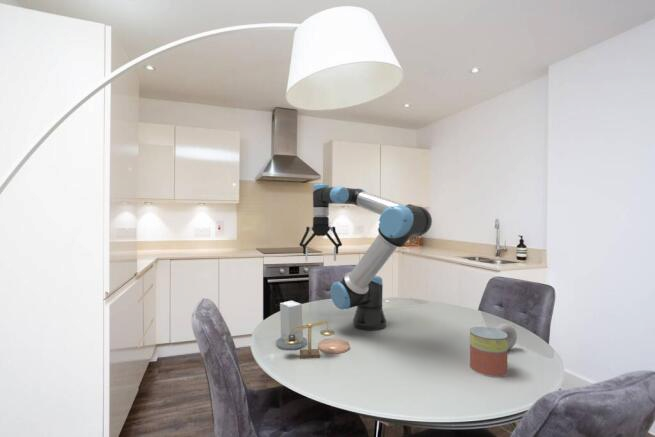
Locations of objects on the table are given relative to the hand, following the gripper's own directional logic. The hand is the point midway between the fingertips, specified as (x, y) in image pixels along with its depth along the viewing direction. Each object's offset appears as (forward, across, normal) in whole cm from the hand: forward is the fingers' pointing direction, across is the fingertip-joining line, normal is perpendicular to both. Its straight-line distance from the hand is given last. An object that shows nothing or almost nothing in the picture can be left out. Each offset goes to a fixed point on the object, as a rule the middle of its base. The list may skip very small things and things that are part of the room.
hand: (320, 261), depth 159 cm
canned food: (+29, -51, +55) cm, 80 cm away
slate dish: (+29, +14, +28) cm, 42 cm away
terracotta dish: (+29, -2, +32) cm, 43 cm away
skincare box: (+28, +14, +28) cm, 41 cm away
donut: (+29, -66, +41) cm, 83 cm away
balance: (+29, +7, +39) cm, 49 cm away
